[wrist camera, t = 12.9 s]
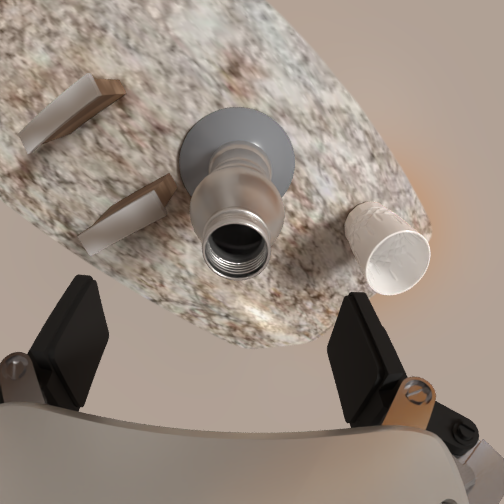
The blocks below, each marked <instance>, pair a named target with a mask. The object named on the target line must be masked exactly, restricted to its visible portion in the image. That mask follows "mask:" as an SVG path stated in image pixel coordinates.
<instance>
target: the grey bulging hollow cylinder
mask: <svg viewBox="0 0 504 504" xmlns="http://www.w3.org/2000/svg"><path fill="white" fill-rule="evenodd" d="M208 171H209V175H208V176H206V177H205V178H204V179H203V180H202V181H201V182H200V184H199V185H198V186H197V187H196V189H195V191H194V193H193V195H192V198H191V202H190V218H191V222H192V225H193V228H194V231H195V233H196V235H197V236H198V238H199V239H200V241H201V242H202V252H203V257H204V260H205V262H206V264H207V265H208V267H209V268H210V269H211V270H212V271H213V272H214V273H216V274H217V275H219V276H221V277H223V278H226V279H229V280H246V279H250V278H253V277H255V276H257V275H258V274H260V273H261V272H262V271H263V270H264V269H265V267H266V266H267V264H268V262H269V260H270V254H271V245H272V244H273V243H274V242H275V240H276V239H277V237H278V236H279V234H280V232H281V229H282V227H283V224H284V218H285V208H284V204H283V200H282V198H281V196H280V193H279V191H278V190H277V188H276V187H275V185H274V184H273V183H272V181H271V178H272V166H271V162H270V160H269V158H268V156H267V154H266V153H265V152H264V151H263V150H262V149H261V148H260V147H258V146H257V145H255V144H253V143H250V142H247V141H232V142H228V143H226V144H224V145H222V146H221V147H219V148H218V149H217V150H216V151H215V152H214V154H213V155H212V157H211V159H210V162H209V169H208Z"/></svg>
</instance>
